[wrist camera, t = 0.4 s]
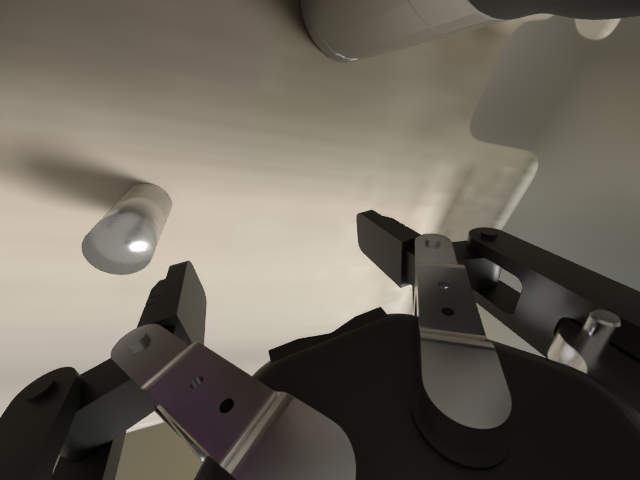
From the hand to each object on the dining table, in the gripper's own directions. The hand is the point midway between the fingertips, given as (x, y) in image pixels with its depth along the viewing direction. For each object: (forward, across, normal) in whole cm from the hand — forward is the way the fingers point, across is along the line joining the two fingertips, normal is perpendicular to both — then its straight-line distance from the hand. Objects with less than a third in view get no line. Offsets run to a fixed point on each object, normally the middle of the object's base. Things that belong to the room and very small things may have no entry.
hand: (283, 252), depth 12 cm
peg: (+19, +10, +1) cm, 21 cm away
